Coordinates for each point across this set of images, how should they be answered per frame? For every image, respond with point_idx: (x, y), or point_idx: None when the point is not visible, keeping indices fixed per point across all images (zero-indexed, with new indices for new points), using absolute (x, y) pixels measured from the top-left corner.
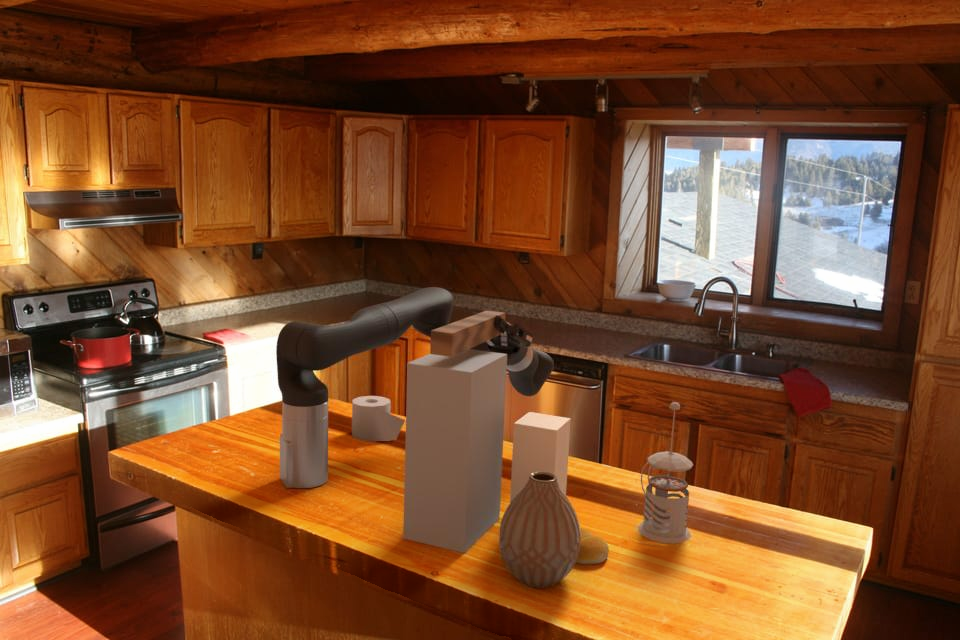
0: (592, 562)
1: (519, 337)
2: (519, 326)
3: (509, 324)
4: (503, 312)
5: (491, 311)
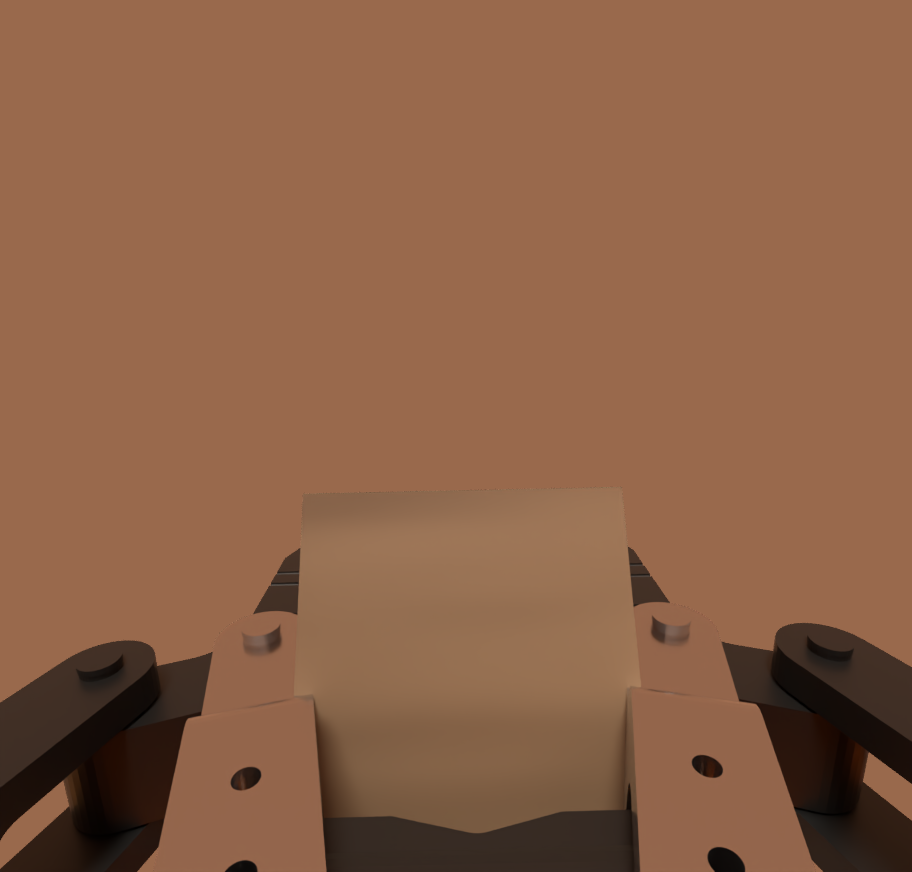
0: None
1: (19, 868)
2: (45, 689)
3: (216, 659)
4: (336, 493)
5: (520, 495)
